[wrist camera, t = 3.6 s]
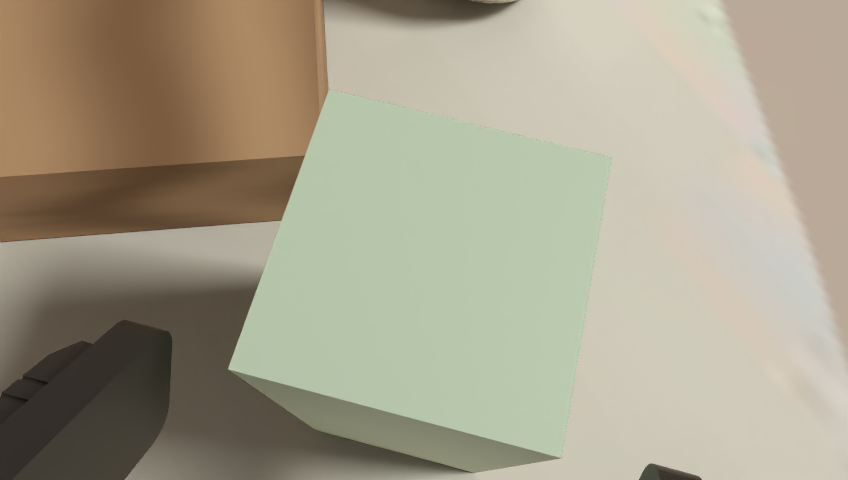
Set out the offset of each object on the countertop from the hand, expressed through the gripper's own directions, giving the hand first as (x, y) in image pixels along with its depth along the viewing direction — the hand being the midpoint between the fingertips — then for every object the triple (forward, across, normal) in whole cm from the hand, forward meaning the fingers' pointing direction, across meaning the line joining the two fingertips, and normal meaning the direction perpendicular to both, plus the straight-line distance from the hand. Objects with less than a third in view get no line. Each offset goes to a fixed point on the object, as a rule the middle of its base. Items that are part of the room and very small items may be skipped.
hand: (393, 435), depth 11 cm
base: (+12, +10, -1) cm, 16 cm away
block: (+7, 0, +4) cm, 8 cm away
